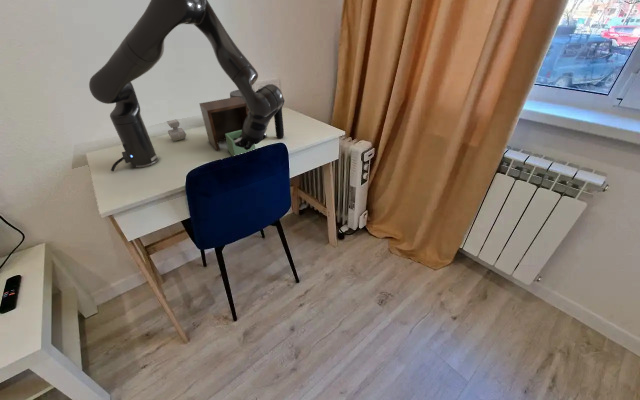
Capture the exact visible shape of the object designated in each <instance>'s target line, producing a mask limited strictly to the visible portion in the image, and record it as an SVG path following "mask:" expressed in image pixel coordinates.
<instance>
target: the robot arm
mask: <svg viewBox="0 0 640 400" xmlns="http://www.w3.org/2000/svg"><path fill="white" fill-rule="evenodd" d="M180 25H193V26H194V27H196V28H197V30H199V31H200V32H201V33H202V34H203V35H204V36H205V38H206V39H207V40H208V42H209V43H210V46H211V48H212V50H213V53H214V56H215V59H216V60H217V63H218V64H219V66H220V67H221V69H222V70H223V72H224V73H225V74H226V75H227V76H228V78H229V79H230V81H232V82H233V84H234V86H235V87H236V88H237V90H239V91H240V93H241V95H242V97H243V99H244V101H245V103H246V105H247V107H248V109H249V112H248V115H247V117H246V119H245V121H244V124H243V128H242V134H241V135H240V138H234V139H233V141H234V143H235V145H236V146H239V147H242V148H244V149H246V150H249V149H250V148H251V147H252V146H253V145H254V144H255V145H258V144H259V143H261V142H263V141H264V140H265V139H267V138H268V136H267V133H266V132H267V130H268V127H269V124H270V122H271V120H272V119H273V118H274V115H275V114H276V113H277V111H278V110H279V109H280V107H281V106H282V103H283V98H284V96H283V92H282V90H281V89H280V88H279V87H278V86H277V85H275V84H273V83H269V84H268V83H267V84H265V85H264V86H262V87H260V88H259V89H257V90H254V88H253V85H254V84H255V83H256V82H257V80H258V78H259V73H258V71H257V70H256V68H255V67H254V66H253V65H252V64H251V63H252V62H250V61H249V60H248V58H247V57H246V56H245V55H244V54H243V53H242V51H241V50H240V48H239V47H238V46H237V45H236V43H235V42H234V40H233V39H232V38H231V36H230V35H229V33H228V31H227V30H226V29H225V27H224V25H223V23H222V22H221V21H220V19H219V17H218V15H217V14H216V12H215V11H214V9H213V7H212V6H211V4H210V2H209V0H149V3H148V5H147V7H146V9H145V11H144V12H143V14H142V15H141V17H140V18H139V19H138V20H137V22H136V23H135V25H134V26H133V27H132V28H131V30H130V31H129V32H128V33H127V34H126V36H125V37H124V38H123V39H122V41H121V43H120V44H119V46H118V47H117V48H116V50H115V51H114V52H113V54H112V55H111V56H110V57H109V59H108V60H107V62H106V63H105V64H104V65H103V66H102V67H100V69H98V71H96V73H94V74H93V75H92V76H91V77H90V79H89V83H88V87H89V88H88V89H89V91H90V94H91V95H92V97H93V98H94V99H95V100H96V101H98V102H100V103H102V104H107V105H109V104H110V105H112V104H115V106H114V108H113V110H112V111H111V112H110V113H109V118H110V120H111V122H112V124H113V127H114V129H115V131H116V133H117V135H118V138H119V140H120V142H121V144H122V148H123V149H124V151H121V155H122V156H121V157H120V158H119V159H117V160H116V161H115V162H114V163H113V164H112V166H111V169H110V171H111V172H114V171H115V170H116V167H117V166H118V165H119V164H120V163H121V162H122V161H124V163H125V164H130V165H131V167H132V169H136V168H147V167H150V166H152V165H155V164H156V163H157V162H158V161H159V157H158V155H157V153H156V151H155V147H154V145H153V143H152V141H151V138H150V134H149V132H148V130H147V127H146V125H145V122H144V119H143V117H142V115H141V105H140V103H139V99H138V97H137V94H136V93H137V92H136V91H135V88H134V85H133V83H132V82H133V81H135V80H137V79H138V78H140V77H141V76H143V75H145V74H146V73H148V72H149V71H151V70H152V68H154V67H155V65H156V64H157V63H158V62H159V61H160V60H161V59H162V57H163V55H164V52H165V40H166V38H167V36H169V34H170V33H171V32H172V31H173V30H174V29H175V28H177V27H178V26H180ZM282 107H283V106H282Z"/></svg>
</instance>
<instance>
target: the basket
mask: <svg viewBox="0 0 640 400" xmlns="http://www.w3.org/2000/svg"><path fill="white" fill-rule="evenodd" d="M241 134H242V130H239V131H234V132H230V133H226V134H225V137H226V139H225V142H226V145H227V150H228V152H229V154H230V155H231V156H232V157H233V156H234V155H238V154H241V153H245V152H248V151H251V150H253V149H256V144H254V145H253V146H252V147H251V148H250V149H249V150H246V149H244V148H242V147H239V146H236V145H235V143H234V141H233V139H234V138H240V135H241ZM256 150H257V149H256Z"/></svg>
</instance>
